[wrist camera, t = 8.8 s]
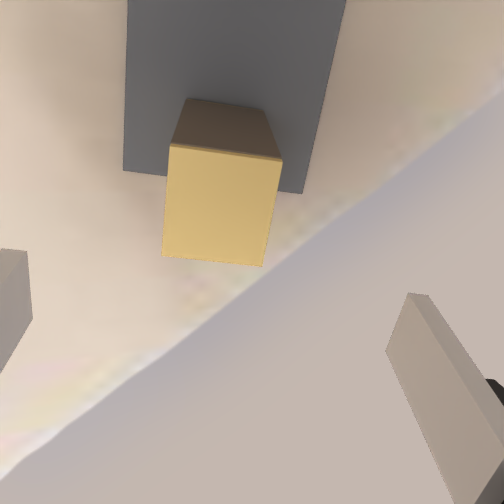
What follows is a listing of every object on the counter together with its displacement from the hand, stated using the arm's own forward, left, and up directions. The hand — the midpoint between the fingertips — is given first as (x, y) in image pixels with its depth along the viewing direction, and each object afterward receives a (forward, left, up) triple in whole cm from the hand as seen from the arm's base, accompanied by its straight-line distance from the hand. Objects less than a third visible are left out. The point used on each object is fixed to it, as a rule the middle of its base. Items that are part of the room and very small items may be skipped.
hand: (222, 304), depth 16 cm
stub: (0, 0, -21) cm, 21 cm away
